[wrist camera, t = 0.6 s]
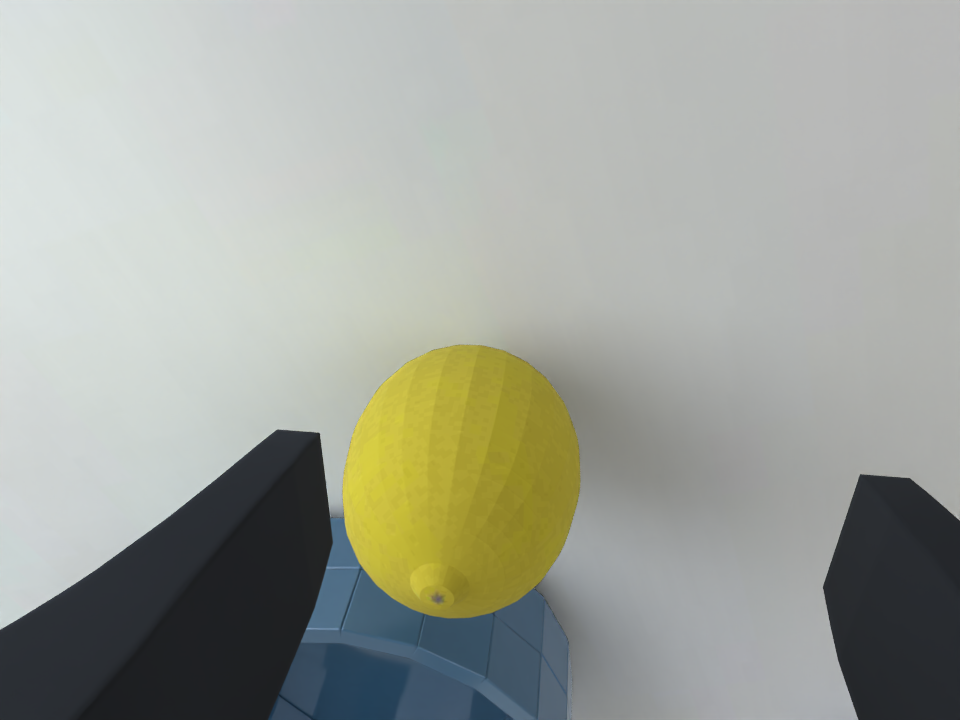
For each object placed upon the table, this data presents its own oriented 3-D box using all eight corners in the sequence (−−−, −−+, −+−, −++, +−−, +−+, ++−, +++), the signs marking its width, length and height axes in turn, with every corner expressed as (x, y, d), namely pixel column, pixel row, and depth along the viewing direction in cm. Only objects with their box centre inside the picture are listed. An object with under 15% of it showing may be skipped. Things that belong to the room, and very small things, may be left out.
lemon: (590, 452, 23) (592, 691, 16) (408, 463, 24) (337, 692, 17) (570, 282, 20) (561, 481, 13) (366, 303, 21) (260, 498, 14)
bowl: (624, 722, 29) (631, 865, 25) (328, 773, 33) (290, 903, 29) (474, 457, 23) (449, 583, 19) (140, 558, 27) (58, 680, 23)
